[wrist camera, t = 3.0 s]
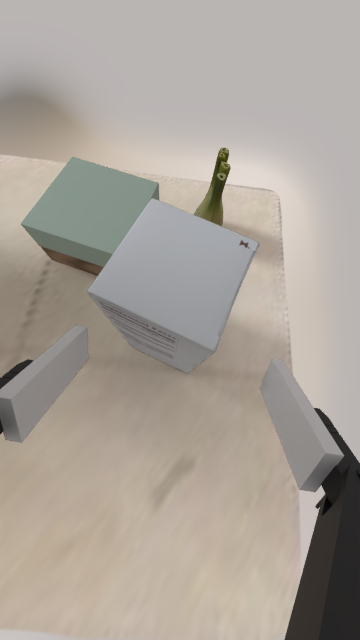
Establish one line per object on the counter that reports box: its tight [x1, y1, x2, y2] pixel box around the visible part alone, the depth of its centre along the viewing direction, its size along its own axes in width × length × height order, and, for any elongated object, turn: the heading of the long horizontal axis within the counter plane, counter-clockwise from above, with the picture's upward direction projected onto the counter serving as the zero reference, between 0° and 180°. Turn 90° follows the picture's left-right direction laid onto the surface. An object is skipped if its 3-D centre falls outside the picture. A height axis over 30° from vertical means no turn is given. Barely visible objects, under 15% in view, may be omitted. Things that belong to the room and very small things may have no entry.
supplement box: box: [87, 198, 260, 373], centre depth 22 cm, size 10×9×17 cm
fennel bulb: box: [194, 148, 230, 226], centre depth 31 cm, size 6×5×12 cm
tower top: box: [21, 157, 159, 267], centre depth 29 cm, size 13×13×4 cm
